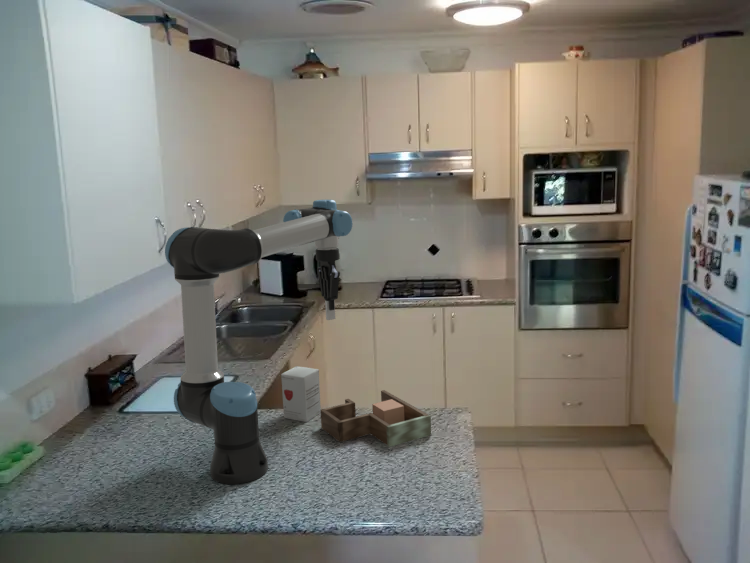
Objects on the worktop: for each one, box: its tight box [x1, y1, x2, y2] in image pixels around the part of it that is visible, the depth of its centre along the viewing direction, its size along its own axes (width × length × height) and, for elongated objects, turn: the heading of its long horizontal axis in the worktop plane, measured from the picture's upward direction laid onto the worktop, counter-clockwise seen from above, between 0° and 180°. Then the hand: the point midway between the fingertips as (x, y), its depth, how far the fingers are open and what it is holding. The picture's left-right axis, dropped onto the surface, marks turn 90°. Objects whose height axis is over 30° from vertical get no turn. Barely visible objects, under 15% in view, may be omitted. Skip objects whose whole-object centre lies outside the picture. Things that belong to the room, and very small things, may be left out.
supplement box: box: [280, 365, 322, 423], centre depth 217 cm, size 9×9×15 cm
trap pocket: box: [320, 402, 371, 443], centre depth 205 cm, size 11×12×6 cm
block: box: [372, 399, 404, 425], centre depth 207 cm, size 7×7×7 cm
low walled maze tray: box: [344, 389, 432, 448], centre depth 207 cm, size 14×27×6 cm, turn 30°
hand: (330, 319), depth 223 cm, fingers closed
